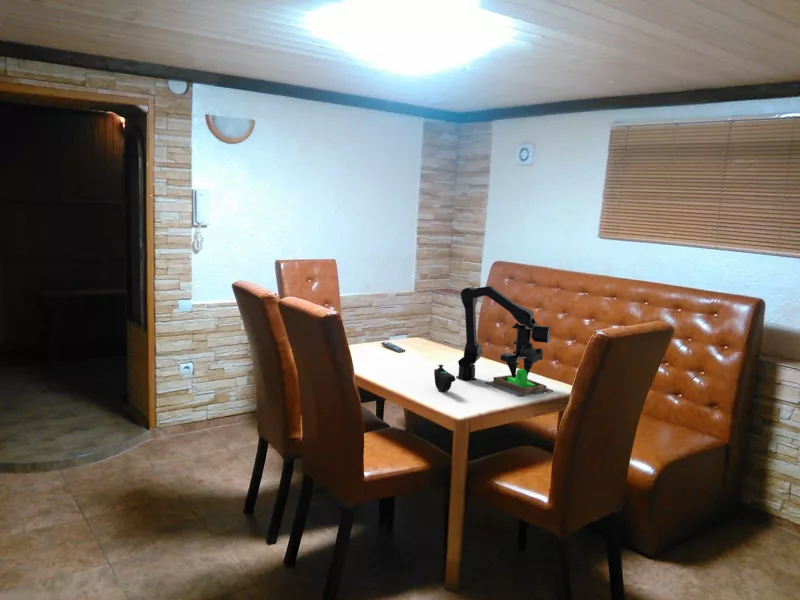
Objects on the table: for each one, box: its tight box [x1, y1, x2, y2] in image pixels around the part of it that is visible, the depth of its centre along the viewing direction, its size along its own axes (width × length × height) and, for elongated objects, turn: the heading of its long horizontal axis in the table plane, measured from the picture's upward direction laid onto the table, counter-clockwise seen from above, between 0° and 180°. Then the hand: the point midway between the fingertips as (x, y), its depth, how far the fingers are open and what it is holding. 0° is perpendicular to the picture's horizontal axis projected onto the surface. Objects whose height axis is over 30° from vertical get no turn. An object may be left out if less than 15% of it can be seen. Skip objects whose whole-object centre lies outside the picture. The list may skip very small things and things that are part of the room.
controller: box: [433, 364, 456, 393], centre depth 244 cm, size 4×12×10 cm, turn 24°
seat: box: [485, 374, 554, 398], centre depth 257 cm, size 19×20×3 cm
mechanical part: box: [508, 368, 535, 388], centre depth 257 cm, size 12×6×8 cm, turn 20°
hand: (519, 376), depth 256 cm, fingers open, 7 cm apart
